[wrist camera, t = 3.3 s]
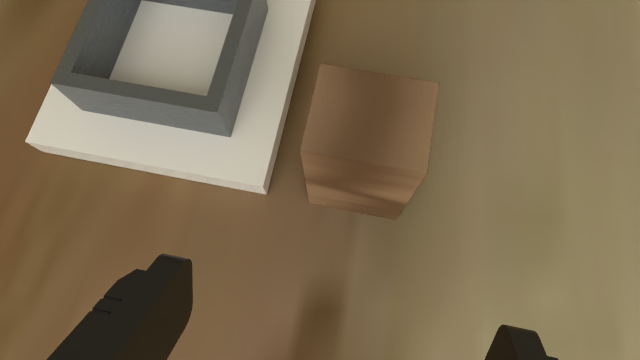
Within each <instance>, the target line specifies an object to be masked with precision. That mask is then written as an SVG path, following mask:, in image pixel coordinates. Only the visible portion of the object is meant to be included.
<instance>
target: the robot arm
mask: <svg viewBox="0 0 640 360" xmlns="http://www.w3.org/2000/svg"><path fill="white" fill-rule="evenodd" d="M192 304H193V292H192V262H191V260H190V259H186V258H181V257H176V256H171V255H167V254H161V255H159V256H158V257H157V258H156V260H155V261H154V262H153V263H152V264H151V266H150V267H149V268H148V269H147V270H146V271H144V270H139V269H136V270H134V271H133V272H131V273H129V274H127V275H126V276H124V277H122V278H121V279H119V280H117V282H116V283H115V284H114V285H113V286H112V287H111V288H110V289H109V290H108V292H107V293H106V294H105V295H104V298H103V299H100V301H99V302H98V303H97V304H96V305H95V306H94V307H93V310H92V311H91V312H89V313H88V314H87V315H86V316H85V317H84V318H83V320H82V321H81V322H80V323H79V324H78V325H77V326H76V327H75V328H74V330H73V331H72V332H71V333H70V334H69V335H68V336H67V337H66V339H65V340H64V341H63V342H62V343H61V344H60V345H59V346H58V347H57V349H56V350H55V351H54V352H53V353H52V354H51V355H50V356H49V358H48V359H47V360H167V358H168V356H169V355H170V353H171V351H172V350H173V348H174V346H175V344H176V343H177V341H178V339H179V338H180V336H181V334H182V332H183V331H184V329H185V327H186V325H187V323H188V321H189V318H190V315H191V311H192ZM485 360H558V359H557V358H554V357H549V356H547V355H546V352H545V350H544V348H543V345H542V343H541V340H540V338H539V336H538V334H537V333H536V332H535V331H532V330H527V329H522V328H517V327H513V326H508V325H501V326H500V327H499V329H498V331H497V333H496V335H495V337H494V340H493V342H492V344H491V346H490V349H489V351H488V353H487V355H486V358H485Z"/></svg>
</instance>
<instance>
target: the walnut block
mask: <svg viewBox="0 0 640 360" xmlns="http://www.w3.org/2000/svg"><path fill="white" fill-rule="evenodd" d="M438 87H439V83H437V82H431V81H425V80H418V79H412V78H406V77H400V76H394V75H388V74H382V73H376V72H370V71H363V70H357V69H351V68H345V67H339V66H333V65H327V64H321V63H320V67H319V71H318V76H317V80H316V84H315V88H314V93H313V97H312V101H311V105H310V110H309V114H308V118H307V122H306V127H305V131H304V135H303V139H302V144H301V148H300V152H301V158H302V164H303V170H304V176H305V182H306V187H307V193H308V199H309V203H311V204H316V205H322V206H327V207H332V208H337V209H342V210H348V211H353V212H358V213H363V214H369V215H374V216H379V217H384V218H389V219H395V220H396V219H397V217H398V216H399V214H400V213H401V211H402V210H403V208H404V207H405V205H406V204H407V202H408V201H409V199H410V198H411V196H412V195H413V193H414V192H415V190H416V189H417V187H418V186H419V184H420V183H421V181H422V180H423V178H424V177H425V175H426V174H427V171H428V164H429V156H430V148H431V141H432V133H433V125H434V118H435V110H436V103H437V95H438Z"/></svg>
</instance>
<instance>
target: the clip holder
mask: <svg viewBox="0 0 640 360" xmlns="http://www.w3.org/2000/svg"><path fill="white" fill-rule="evenodd" d="M315 2H316V0H88V2H87V4H86V6H85V8H84V11H83V13H82V15H81V17H80V19H79V21H78V24H77V26H76V28H75V30H74V32H73V35H72V37H71V39H70V41H69V43H68V45H67V48H66V50H65V52H64V54H63V56H62V58H61V61H60V63H59V65H58V67H57V69H56V71H55V74H54V76H53V78H52V80H51V82H50V83H51V87H50V89H49V91H48V93H47V95H46V97H45V100H44V102H43V104H42V106H41V108H40V111H39V113H38V115H37V117H36V119H35V121H34V124H33V126H32V128H31V130H30V132H29V135H28V137H27V139H26V141H25V142H27V143H28V144H30V145H32V146H33V147H35V148H37V149H39V150H40V151H42V152H47V153H52V154H57V155H62V156H67V157H73V158H78V159H83V160H88V161H93V162H99V163H104V164H109V165H114V166H119V167H125V168H130V169H135V170H140V171H146V172H151V173H156V174H161V175H166V176H172V177H177V178H182V179H187V180H192V181H198V182H203V183H208V184H213V185H219V186H224V187H229V188H234V189H239V190H245V191H250V192H255V193H260V194H265V195H267V192H268V188H269V184H270V180H271V176H272V172H273V168H274V164H275V160H276V156H277V152H278V148H279V144H280V140H281V137H282V133H283V129H284V125H285V121H286V117H287V113H288V109H289V105H290V101H291V97H292V93H293V89H294V85H295V81H296V77H297V73H298V69H299V65H300V61H301V57H302V53H303V50H304V46H305V42H306V38H307V34H308V30H309V26H310V22H311V18H312V14H313V10H314V6H315Z"/></svg>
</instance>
